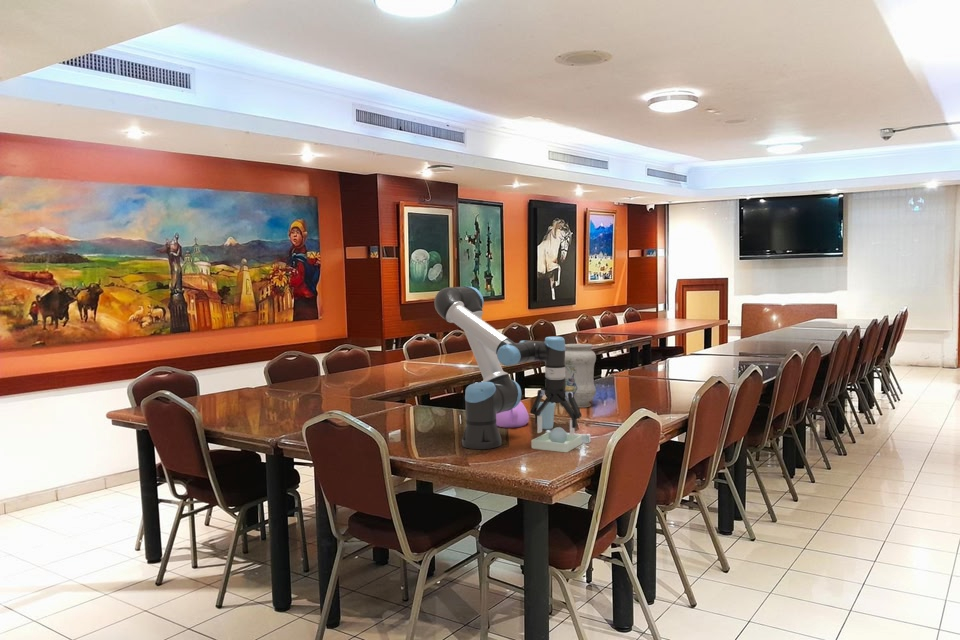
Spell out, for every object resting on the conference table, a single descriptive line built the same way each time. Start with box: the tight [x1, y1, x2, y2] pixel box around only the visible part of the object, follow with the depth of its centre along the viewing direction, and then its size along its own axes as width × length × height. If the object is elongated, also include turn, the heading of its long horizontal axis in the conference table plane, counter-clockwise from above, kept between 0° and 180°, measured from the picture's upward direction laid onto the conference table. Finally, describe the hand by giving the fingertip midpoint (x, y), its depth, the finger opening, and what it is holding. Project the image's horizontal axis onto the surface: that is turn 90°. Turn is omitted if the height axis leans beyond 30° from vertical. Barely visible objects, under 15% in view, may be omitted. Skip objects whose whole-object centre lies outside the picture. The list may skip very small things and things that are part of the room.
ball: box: [549, 426, 567, 443], centre depth 259 cm, size 6×6×6 cm
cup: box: [537, 401, 556, 430], centre depth 290 cm, size 8×8×10 cm
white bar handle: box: [544, 429, 591, 444], centre depth 267 cm, size 18×2×3 cm, turn 59°
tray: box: [530, 432, 583, 453], centre depth 259 cm, size 14×14×3 cm
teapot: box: [496, 400, 530, 429], centre depth 299 cm, size 22×16×12 cm
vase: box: [564, 343, 597, 409], centre depth 335 cm, size 18×18×30 cm
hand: (555, 434), depth 259 cm, fingers open, 13 cm apart
